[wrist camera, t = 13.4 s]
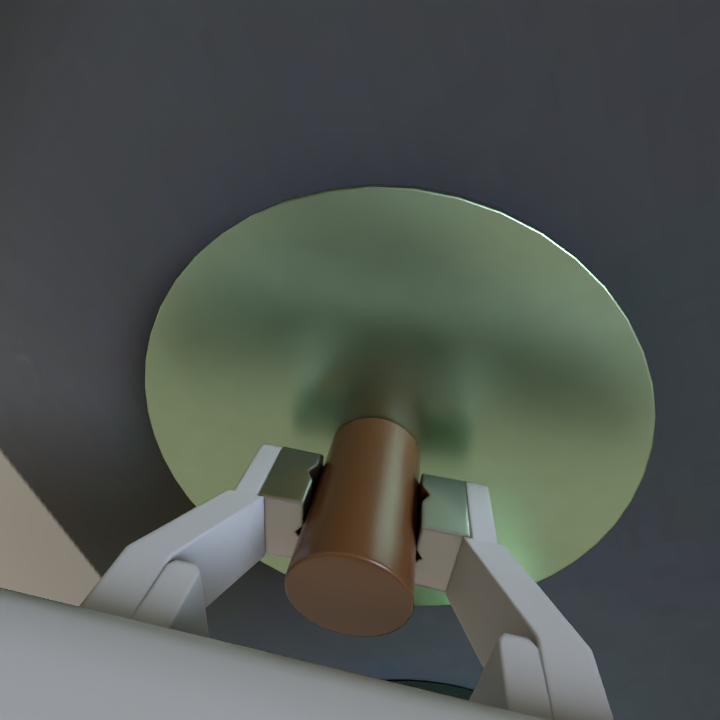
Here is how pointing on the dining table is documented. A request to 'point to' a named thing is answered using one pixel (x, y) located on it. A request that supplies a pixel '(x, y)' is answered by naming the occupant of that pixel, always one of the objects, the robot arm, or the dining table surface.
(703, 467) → the dining table surface
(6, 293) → the dining table surface
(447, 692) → the bowl
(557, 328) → the tin lid
